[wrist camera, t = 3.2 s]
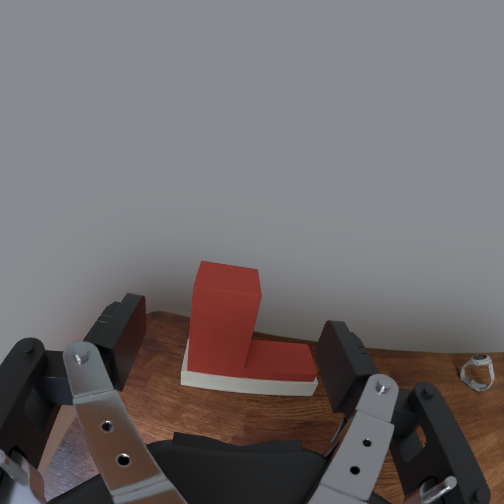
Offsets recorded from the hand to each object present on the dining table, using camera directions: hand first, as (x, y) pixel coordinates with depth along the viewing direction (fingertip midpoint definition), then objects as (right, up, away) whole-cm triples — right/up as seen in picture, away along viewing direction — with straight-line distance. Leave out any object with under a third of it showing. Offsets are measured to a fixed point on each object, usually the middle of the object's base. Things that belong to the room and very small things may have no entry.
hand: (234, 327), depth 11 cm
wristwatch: (+32, -16, +14) cm, 39 cm away
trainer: (0, -9, +14) cm, 17 cm away
